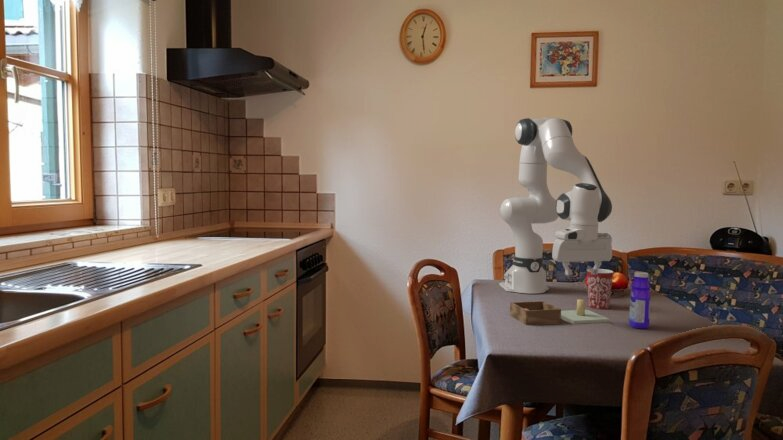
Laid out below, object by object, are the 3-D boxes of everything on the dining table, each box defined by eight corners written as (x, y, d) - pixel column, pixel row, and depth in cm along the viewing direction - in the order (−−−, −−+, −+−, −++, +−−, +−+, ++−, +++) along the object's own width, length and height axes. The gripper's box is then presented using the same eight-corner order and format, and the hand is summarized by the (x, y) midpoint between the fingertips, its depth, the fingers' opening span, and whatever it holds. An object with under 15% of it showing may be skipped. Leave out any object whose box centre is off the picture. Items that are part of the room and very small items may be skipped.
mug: (610, 311, 198) (612, 273, 197) (584, 308, 202) (585, 271, 201) (613, 304, 209) (615, 268, 208) (588, 301, 213) (589, 266, 212)
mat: (550, 315, 190) (550, 313, 190) (587, 313, 193) (587, 312, 193) (572, 326, 177) (572, 324, 176) (611, 324, 180) (611, 322, 179)
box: (509, 317, 187) (510, 302, 187) (542, 315, 190) (543, 301, 189) (525, 326, 175) (526, 310, 175) (560, 324, 178) (561, 309, 177)
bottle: (626, 323, 181) (628, 270, 180) (644, 324, 180) (647, 271, 179) (632, 329, 174) (635, 274, 173) (651, 330, 173) (654, 274, 172)
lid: (552, 313, 190) (553, 296, 189) (587, 312, 193) (587, 295, 192) (573, 323, 177) (573, 305, 177) (609, 322, 180) (610, 303, 179)
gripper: (606, 231, 188) (603, 272, 189) (550, 232, 184) (548, 273, 185) (617, 234, 182) (615, 275, 183) (560, 234, 177) (558, 277, 179)
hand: (581, 274), depth 184 cm, fingers open, 8 cm apart
